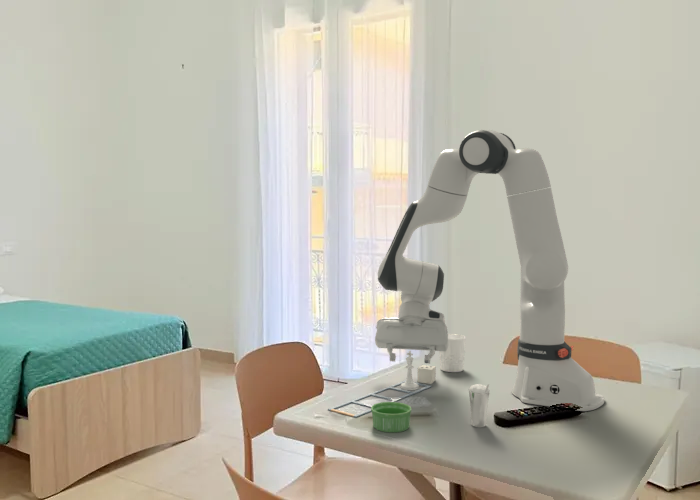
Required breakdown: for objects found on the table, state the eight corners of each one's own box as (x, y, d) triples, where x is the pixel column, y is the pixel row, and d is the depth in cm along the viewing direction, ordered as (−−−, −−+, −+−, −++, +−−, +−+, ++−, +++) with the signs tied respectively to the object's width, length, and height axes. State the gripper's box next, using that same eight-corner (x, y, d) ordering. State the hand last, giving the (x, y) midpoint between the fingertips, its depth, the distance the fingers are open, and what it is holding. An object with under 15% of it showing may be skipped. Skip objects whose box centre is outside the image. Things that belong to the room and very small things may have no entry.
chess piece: (412, 391, 172) (412, 354, 171) (396, 388, 175) (397, 351, 174) (422, 387, 176) (422, 350, 175) (406, 384, 179) (406, 348, 178)
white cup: (438, 372, 192) (438, 338, 191) (438, 365, 199) (439, 333, 199) (465, 373, 190) (465, 339, 190) (465, 366, 198) (465, 334, 197)
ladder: (431, 386, 176) (431, 385, 176) (356, 417, 151) (356, 416, 151) (405, 381, 182) (405, 380, 182) (328, 410, 156) (328, 408, 156)
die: (435, 380, 183) (435, 366, 183) (431, 384, 180) (431, 369, 179) (421, 378, 185) (422, 364, 185) (417, 382, 181) (417, 368, 181)
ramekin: (419, 428, 144) (420, 409, 144) (387, 437, 139) (387, 416, 139) (394, 417, 151) (394, 399, 151) (363, 425, 146) (363, 405, 146)
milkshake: (479, 430, 142) (480, 385, 142) (464, 423, 147) (464, 380, 146) (495, 427, 144) (496, 383, 144) (480, 420, 149) (480, 377, 148)
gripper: (376, 311, 185) (370, 353, 176) (449, 314, 181) (446, 357, 172) (378, 324, 190) (372, 365, 181) (449, 327, 186) (447, 369, 177)
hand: (409, 361), depth 176 cm, fingers open, 8 cm apart
